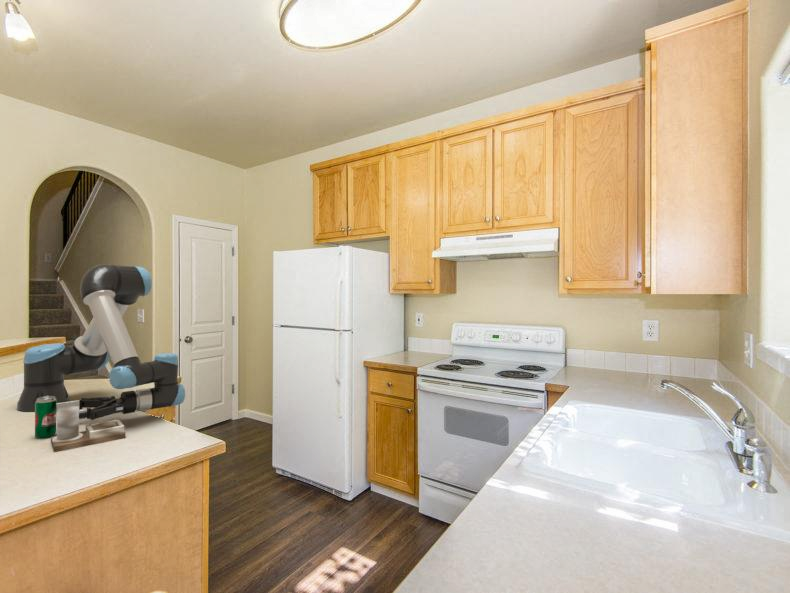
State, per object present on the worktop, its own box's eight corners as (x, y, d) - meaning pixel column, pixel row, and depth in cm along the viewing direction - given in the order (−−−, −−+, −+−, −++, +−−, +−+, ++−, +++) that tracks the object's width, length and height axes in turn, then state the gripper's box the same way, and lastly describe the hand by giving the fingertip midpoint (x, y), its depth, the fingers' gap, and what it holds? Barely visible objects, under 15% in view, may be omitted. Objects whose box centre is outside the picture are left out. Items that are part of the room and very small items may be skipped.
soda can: (43, 439, 122) (44, 400, 122) (30, 438, 123) (30, 399, 123) (60, 434, 127) (61, 396, 127) (47, 432, 128) (48, 394, 128)
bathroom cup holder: (118, 429, 132) (119, 397, 132) (125, 437, 125) (126, 404, 125) (50, 441, 120) (51, 406, 120) (53, 452, 113) (54, 414, 113)
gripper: (144, 420, 132) (61, 435, 117) (126, 404, 150) (52, 415, 135) (145, 397, 132) (61, 410, 117) (127, 383, 150) (52, 393, 135)
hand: (56, 413), depth 126 cm, fingers open, 13 cm apart
